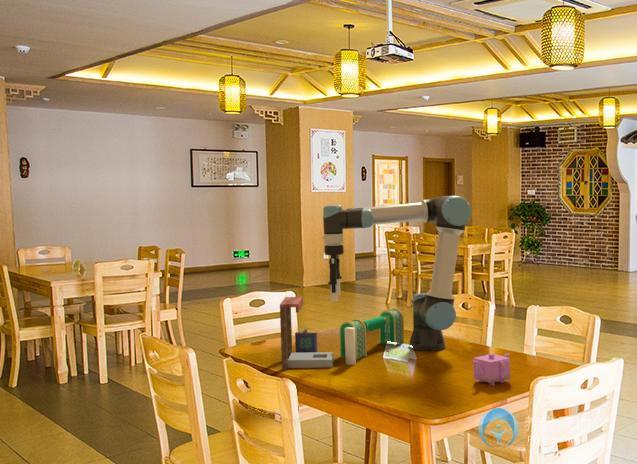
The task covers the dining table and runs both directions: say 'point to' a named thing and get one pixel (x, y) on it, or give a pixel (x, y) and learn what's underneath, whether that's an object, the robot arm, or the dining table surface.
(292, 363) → the socket block
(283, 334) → the curved red bench
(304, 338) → the flask
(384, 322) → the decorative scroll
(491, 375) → the pink square teapot
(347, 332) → the peg
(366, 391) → the dining table surface
